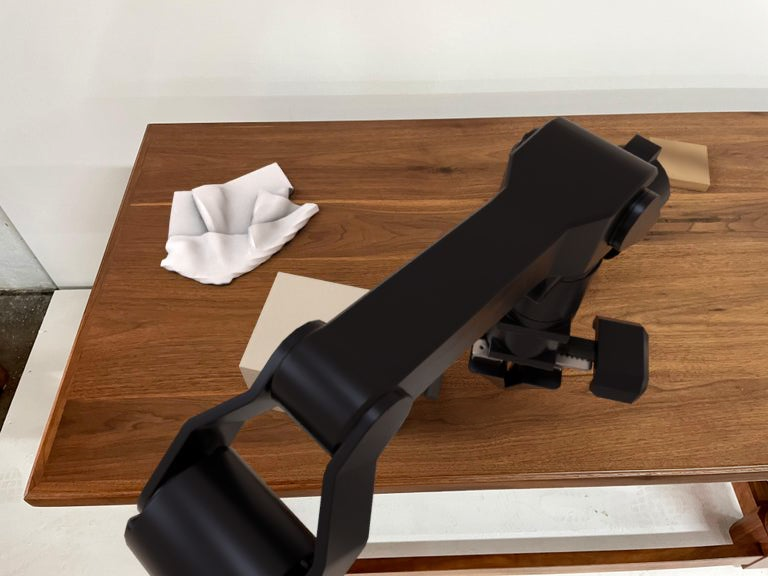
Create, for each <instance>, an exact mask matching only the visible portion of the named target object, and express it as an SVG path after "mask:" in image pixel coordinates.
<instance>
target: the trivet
mask: <svg viewBox="0 0 768 576" xmlns="http://www.w3.org/2000/svg"><path fill="white" fill-rule="evenodd" d="M648 140H649V141H651V142H653V143H655V144H657V145H659V146H661V147H662V150H661V152H660V154H659V156H658V158H657V160H658V161H659V162H660V164H661V165H662V166H663V168H664V169H665V171H666V173H667V175H668V177H669V182H670V188H671V187H672V188H677V189H684V190H690V191H696V192H702V193H706V192H707V191H708V189H709V188H710V186H711V178H710V177H711V176H710V168H709V167H710V166H709V156H708V147H707V145H703V144H699V143H698V144H697V143H691V142H684V141H679V140H672V139H666V138H659V137H652V136H649V138H648Z"/></svg>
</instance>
